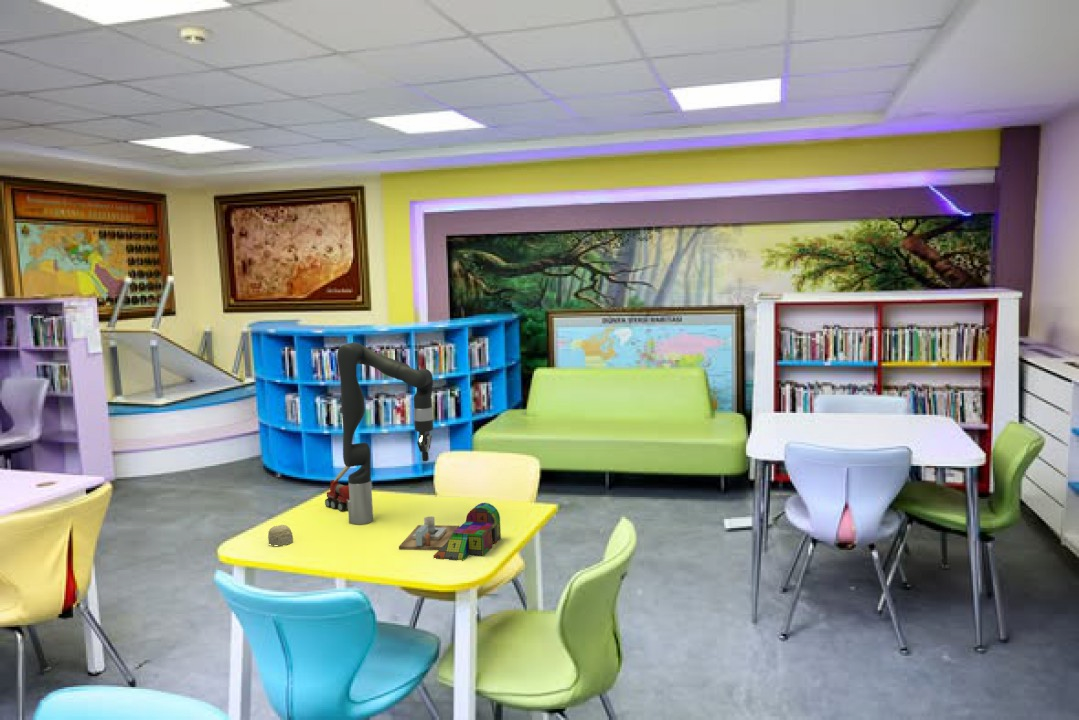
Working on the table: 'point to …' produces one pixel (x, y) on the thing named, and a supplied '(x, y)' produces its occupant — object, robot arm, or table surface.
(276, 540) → the brown rock
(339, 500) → the toy fire truck
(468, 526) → the toy block train
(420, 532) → the flange plate
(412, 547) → the flange base
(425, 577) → the table surface
